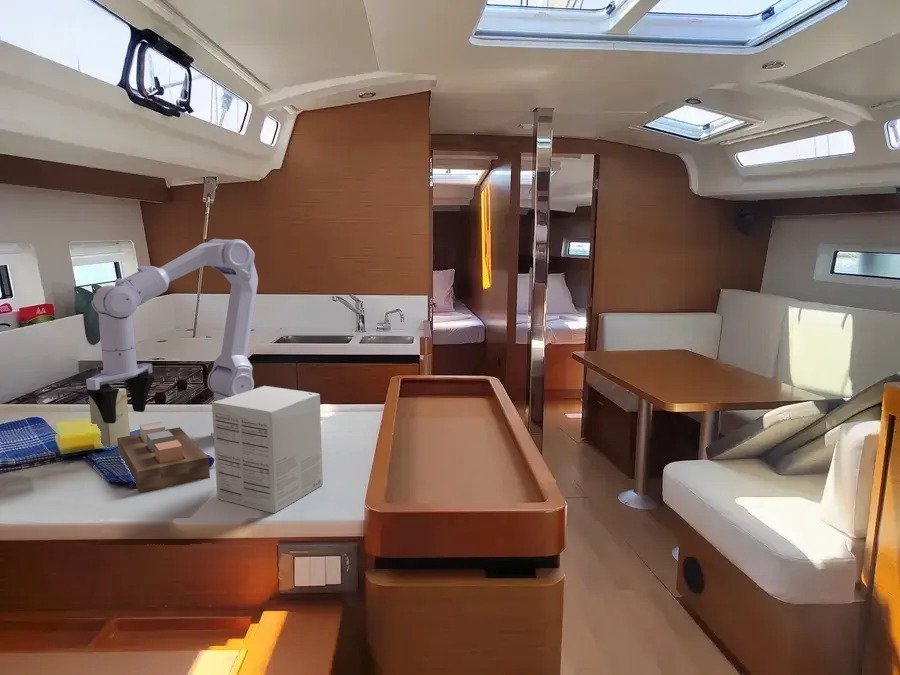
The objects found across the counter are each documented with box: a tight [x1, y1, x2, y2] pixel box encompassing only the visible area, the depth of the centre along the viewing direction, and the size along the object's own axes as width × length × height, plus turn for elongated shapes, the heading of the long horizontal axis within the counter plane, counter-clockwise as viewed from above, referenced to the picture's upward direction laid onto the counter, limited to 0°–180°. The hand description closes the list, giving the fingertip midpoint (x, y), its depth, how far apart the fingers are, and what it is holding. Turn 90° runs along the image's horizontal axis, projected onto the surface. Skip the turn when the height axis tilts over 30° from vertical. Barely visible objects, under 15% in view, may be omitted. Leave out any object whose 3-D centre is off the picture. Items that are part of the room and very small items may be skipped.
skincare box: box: [88, 387, 131, 447], centre depth 131 cm, size 6×4×12 cm
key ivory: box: [139, 421, 166, 443], centre depth 125 cm, size 4×4×4 cm
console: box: [117, 426, 211, 494], centre depth 120 cm, size 12×22×4 cm, turn 37°
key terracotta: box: [154, 440, 183, 464], centre depth 114 cm, size 4×4×4 cm
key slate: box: [147, 430, 174, 453], centre depth 119 cm, size 4×4×4 cm
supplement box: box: [211, 385, 324, 514], centre depth 107 cm, size 13×13×18 cm
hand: (124, 416), depth 119 cm, fingers open, 7 cm apart
